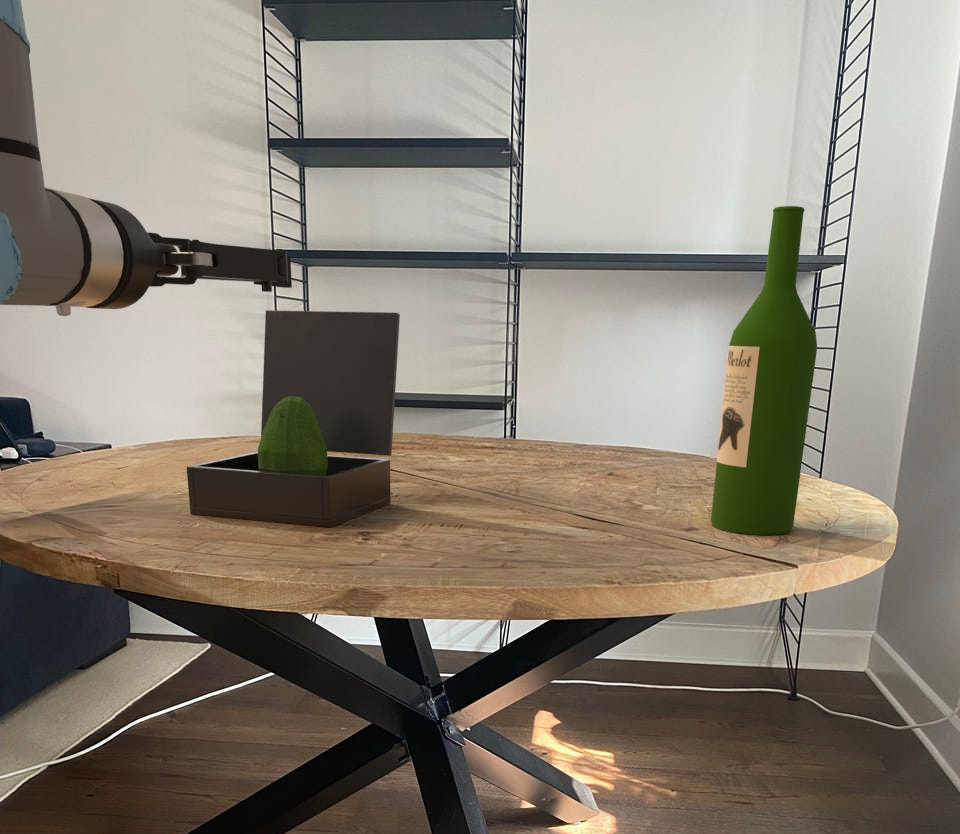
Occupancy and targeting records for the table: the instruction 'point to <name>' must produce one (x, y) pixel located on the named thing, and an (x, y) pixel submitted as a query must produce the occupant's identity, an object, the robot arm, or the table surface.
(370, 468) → the tin
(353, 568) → the table surface
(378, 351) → the tin lid
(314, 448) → the avocado
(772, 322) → the wine bottle
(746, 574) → the table surface
